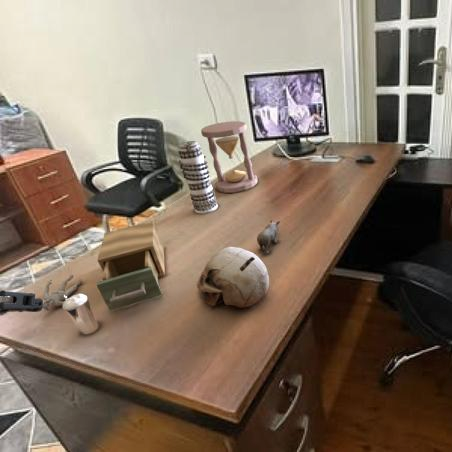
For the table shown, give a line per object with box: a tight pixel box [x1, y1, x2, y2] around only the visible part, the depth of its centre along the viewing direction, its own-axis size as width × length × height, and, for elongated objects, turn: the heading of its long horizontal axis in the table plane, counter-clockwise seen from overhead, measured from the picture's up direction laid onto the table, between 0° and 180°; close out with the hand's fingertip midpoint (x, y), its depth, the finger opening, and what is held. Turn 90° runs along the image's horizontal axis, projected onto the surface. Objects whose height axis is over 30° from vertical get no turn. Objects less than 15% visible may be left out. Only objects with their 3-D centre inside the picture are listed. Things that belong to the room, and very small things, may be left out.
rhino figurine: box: [256, 219, 281, 255], centre depth 105 cm, size 4×14×6 cm, turn 167°
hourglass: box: [200, 120, 259, 194], centre depth 145 cm, size 18×18×25 cm
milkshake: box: [60, 293, 99, 335], centre depth 77 cm, size 4×5×10 cm
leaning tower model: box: [176, 140, 219, 214], centre depth 126 cm, size 9×9×25 cm
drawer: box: [95, 249, 163, 312], centre depth 87 cm, size 19×12×8 cm, turn 25°
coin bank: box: [196, 246, 270, 309], centre depth 83 cm, size 16×17×13 cm
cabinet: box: [97, 220, 166, 278], centre depth 97 cm, size 16×13×10 cm
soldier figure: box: [42, 274, 83, 311], centre depth 89 cm, size 8×5×12 cm
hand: (15, 308), depth 61 cm, fingers open, 8 cm apart
